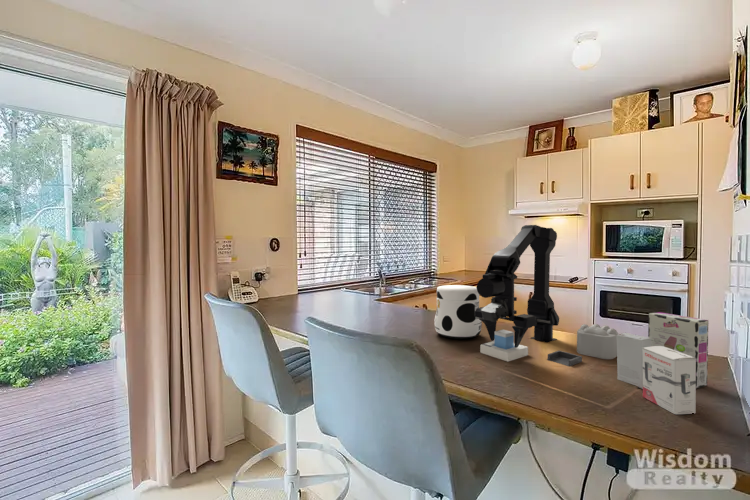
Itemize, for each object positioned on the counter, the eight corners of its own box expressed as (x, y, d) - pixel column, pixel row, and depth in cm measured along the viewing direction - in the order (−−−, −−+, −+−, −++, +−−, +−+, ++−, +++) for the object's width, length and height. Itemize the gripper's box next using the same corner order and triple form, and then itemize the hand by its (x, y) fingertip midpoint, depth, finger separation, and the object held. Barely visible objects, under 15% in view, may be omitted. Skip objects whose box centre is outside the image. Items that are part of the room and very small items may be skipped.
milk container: (429, 330, 142) (428, 285, 141) (471, 328, 144) (471, 284, 143) (442, 343, 125) (441, 292, 124) (489, 341, 127) (489, 290, 126)
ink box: (640, 397, 82) (641, 345, 82) (660, 395, 83) (661, 345, 82) (674, 415, 74) (676, 358, 73) (697, 414, 74) (698, 357, 74)
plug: (502, 351, 114) (502, 329, 114) (513, 354, 111) (513, 332, 111) (494, 353, 112) (494, 331, 112) (505, 357, 109) (505, 334, 109)
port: (500, 348, 119) (500, 338, 119) (528, 356, 110) (528, 346, 110) (480, 354, 113) (480, 344, 113) (507, 363, 105) (507, 352, 105)
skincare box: (652, 386, 88) (653, 337, 87) (642, 390, 86) (643, 340, 85) (625, 377, 93) (626, 331, 93) (615, 381, 91) (616, 334, 91)
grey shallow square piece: (559, 356, 110) (559, 350, 110) (582, 363, 104) (582, 356, 104) (546, 361, 106) (546, 354, 106) (569, 368, 100) (569, 361, 100)
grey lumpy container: (573, 354, 112) (573, 327, 112) (585, 345, 121) (585, 320, 121) (612, 362, 105) (612, 333, 104) (622, 352, 114) (622, 325, 114)
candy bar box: (708, 386, 88) (710, 319, 87) (696, 389, 86) (698, 321, 85) (658, 370, 98) (659, 311, 98) (646, 373, 96) (647, 312, 96)
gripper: (463, 292, 114) (463, 341, 115) (514, 301, 99) (514, 357, 99) (486, 289, 120) (486, 335, 121) (538, 297, 105) (537, 349, 106)
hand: (504, 343), depth 112 cm, fingers open, 8 cm apart
